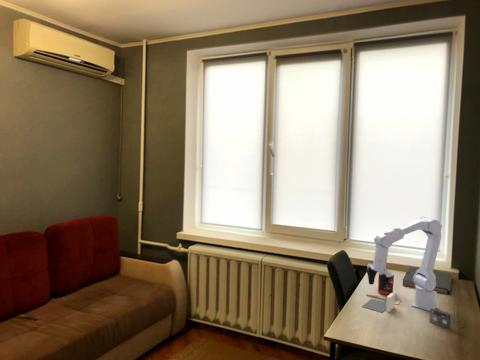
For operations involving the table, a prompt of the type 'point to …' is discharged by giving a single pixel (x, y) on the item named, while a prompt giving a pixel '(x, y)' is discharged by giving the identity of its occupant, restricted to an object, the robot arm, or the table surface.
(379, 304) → the mat
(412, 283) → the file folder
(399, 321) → the table surface
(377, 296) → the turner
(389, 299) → the tile
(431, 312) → the mini dv tape
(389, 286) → the canned food
